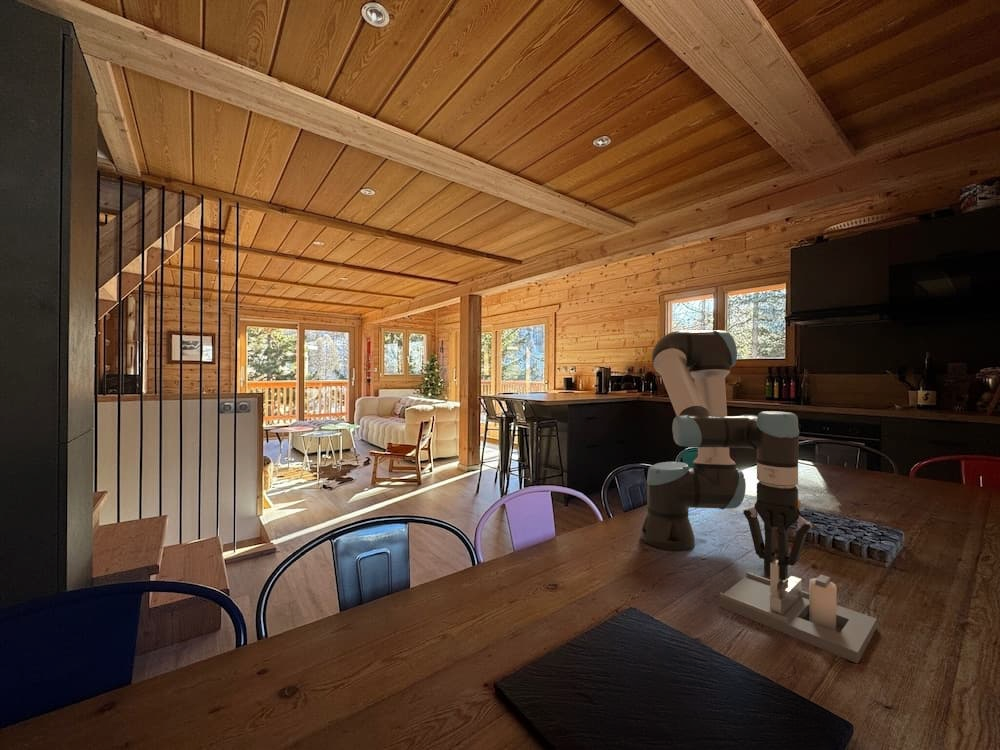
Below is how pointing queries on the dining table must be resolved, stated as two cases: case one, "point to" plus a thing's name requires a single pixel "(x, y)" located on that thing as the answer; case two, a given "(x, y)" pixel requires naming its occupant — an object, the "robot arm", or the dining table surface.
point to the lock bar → (785, 595)
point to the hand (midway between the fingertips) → (776, 591)
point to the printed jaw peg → (822, 602)
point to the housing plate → (800, 618)
